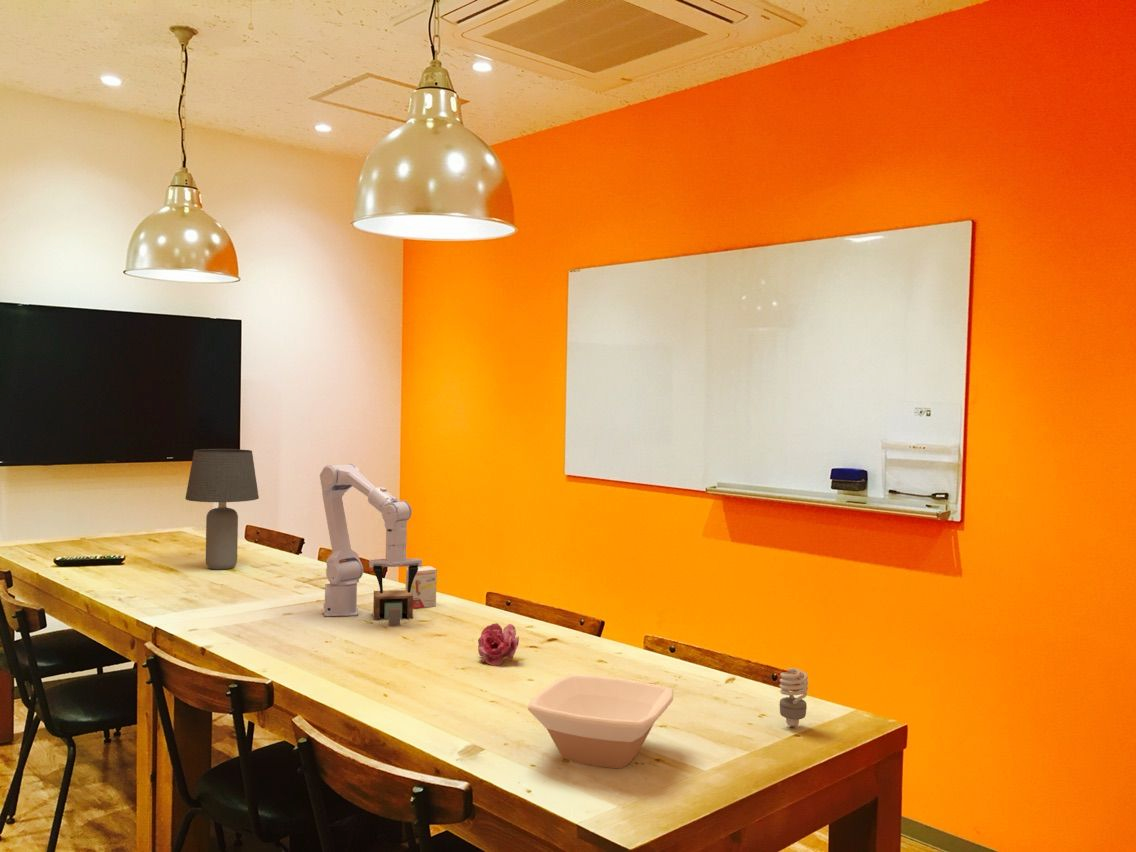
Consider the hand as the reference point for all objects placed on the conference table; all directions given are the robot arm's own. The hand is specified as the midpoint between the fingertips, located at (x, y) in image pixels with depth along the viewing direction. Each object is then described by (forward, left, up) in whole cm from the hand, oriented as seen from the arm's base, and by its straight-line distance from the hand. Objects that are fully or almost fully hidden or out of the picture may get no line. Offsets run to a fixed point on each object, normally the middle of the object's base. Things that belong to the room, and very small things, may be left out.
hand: (395, 592), depth 263 cm
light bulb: (+75, -95, -9) cm, 121 cm away
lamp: (-58, +92, -9) cm, 109 cm away
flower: (+23, -39, -10) cm, 47 cm away
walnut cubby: (0, +10, -9) cm, 13 cm away
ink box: (+9, +22, -10) cm, 26 cm away
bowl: (+33, -102, -10) cm, 107 cm away
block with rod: (0, +5, -9) cm, 11 cm away
